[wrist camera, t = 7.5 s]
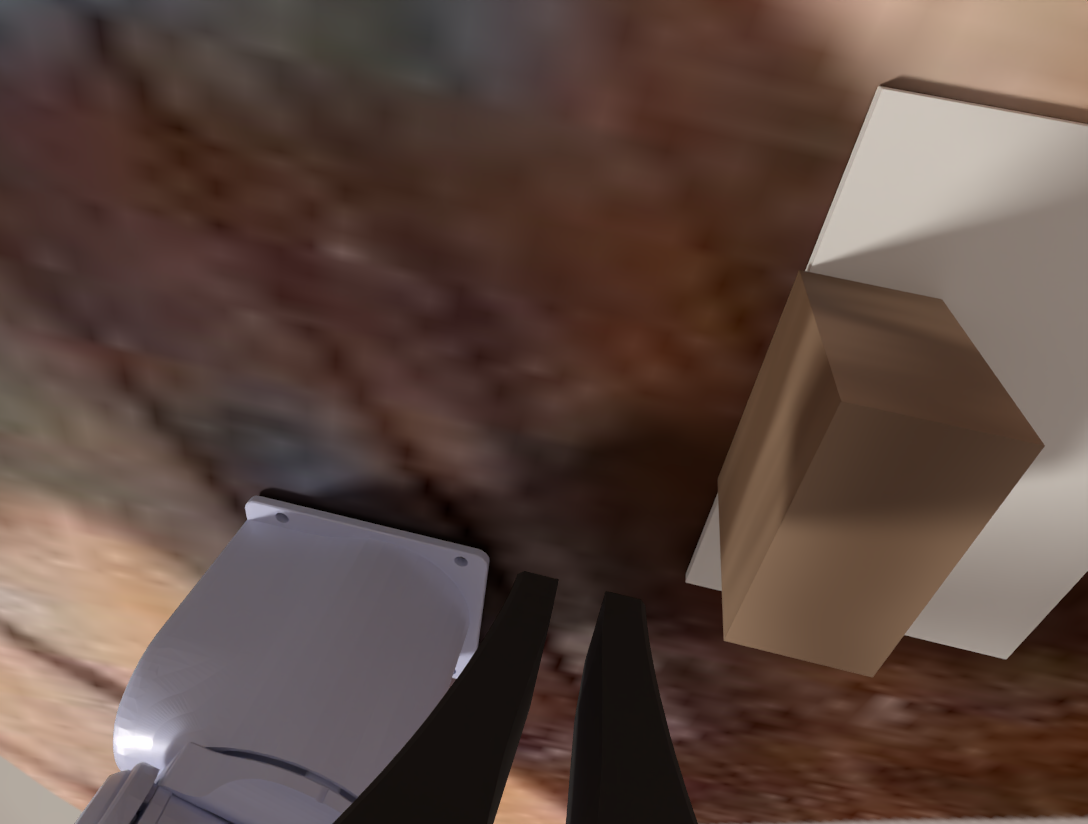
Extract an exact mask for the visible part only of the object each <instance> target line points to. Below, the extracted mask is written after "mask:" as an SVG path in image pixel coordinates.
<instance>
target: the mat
mask: <svg viewBox="0 0 1088 824" xmlns="http://www.w3.org/2000/svg"><path fill="white" fill-rule="evenodd" d="M805 271H807V272H812V273H817V274H822V275H826V276H831V277H836V278H841V279H846V280H851V281H856V282H860V283H865V284H870V285H875V286H880V287H885V288H890V289H895V290H899V291H904V292H909V293H914V294H919V295H924V296H929V297H933V298H938V299H942V300H943V301H944V303H945V304H946V305H947V307H948V308H949V310H950V311H951V313H952V314H953V315H954V317H955V318H956V320H957V321H958V323H959V324H960V325H961V327H962V328H963V330H964V331H965V333H966V334H967V335H968V337H969V338H970V340H971V341H972V342H973V344H974V345H975V347H976V348H977V350H978V351H979V352H980V354H981V355H982V357H983V358H984V360H985V361H986V362H987V364H988V365H989V367H990V368H991V370H992V371H993V372H994V374H995V375H996V377H997V378H998V379H999V381H1000V382H1001V384H1002V385H1003V387H1004V388H1005V389H1006V391H1007V392H1008V394H1009V395H1010V397H1011V398H1012V399H1013V401H1014V402H1015V404H1016V405H1017V407H1018V408H1019V409H1020V411H1021V412H1022V414H1023V415H1024V416H1025V418H1026V419H1027V421H1028V422H1029V424H1030V425H1031V426H1032V428H1033V429H1034V431H1035V432H1036V434H1037V435H1038V436H1039V438H1040V439H1041V441H1042V442H1043V443H1044V445H1045V447H1044V448H1043V449H1042V451H1041V452H1040V453H1039V455H1038V456H1037V457H1036V459H1035V460H1034V461H1033V463H1032V464H1031V465H1030V467H1029V468H1028V469H1027V471H1026V472H1025V473H1024V475H1023V476H1022V477H1021V479H1020V480H1019V481H1018V483H1017V484H1016V485H1015V487H1014V488H1013V489H1012V491H1011V492H1010V494H1009V495H1008V496H1007V498H1006V499H1005V500H1004V502H1003V503H1002V504H1001V506H1000V507H999V508H998V510H997V511H996V512H995V514H994V515H993V516H992V518H991V519H990V520H989V522H988V523H987V524H986V526H985V527H984V528H983V530H982V531H981V532H980V534H979V535H978V536H977V538H976V539H975V541H974V542H973V543H972V545H971V546H970V547H969V549H968V550H967V551H966V553H965V554H964V555H963V557H962V558H961V559H960V561H959V562H958V563H957V565H956V566H955V567H954V569H953V570H952V571H951V573H950V574H949V575H948V577H947V578H946V579H945V581H944V582H943V584H942V585H941V586H940V588H939V589H938V590H937V592H936V593H935V594H934V596H933V597H932V598H931V600H930V601H929V602H928V604H927V605H926V606H925V608H924V609H923V610H922V612H921V613H920V614H919V616H918V617H917V618H916V620H915V621H914V622H913V624H912V625H911V626H910V628H909V629H908V631H907V632H906V633H905V635H906V636H910V637H915V638H919V639H923V640H927V641H931V642H935V643H940V644H944V645H948V646H952V647H956V648H960V649H965V650H969V651H973V652H977V653H981V654H985V655H989V656H994V657H998V658H1002V659H1007V658H1008V657H1009V656H1010V655H1011V654H1012V653H1013V652H1014V650H1015V649H1016V648H1017V647H1018V646H1019V645H1020V644H1021V643H1022V642H1023V641H1024V640H1025V639H1026V637H1027V636H1028V635H1029V634H1030V633H1031V632H1032V631H1033V630H1034V629H1035V628H1036V627H1037V625H1038V624H1039V623H1040V622H1041V621H1042V620H1043V619H1044V618H1045V617H1046V616H1047V615H1048V613H1049V612H1050V611H1051V610H1052V609H1053V608H1054V607H1055V606H1056V605H1057V604H1058V603H1059V602H1060V600H1061V599H1062V598H1063V597H1064V596H1065V595H1066V594H1067V593H1068V592H1069V591H1070V590H1071V588H1072V587H1073V586H1074V585H1075V584H1076V583H1077V582H1078V581H1079V580H1080V579H1081V578H1082V577H1083V575H1084V574H1085V573H1086V572H1087V571H1088V124H1085V123H1079V122H1074V121H1068V120H1063V119H1058V118H1052V117H1047V116H1041V115H1036V114H1030V113H1025V112H1019V111H1014V110H1008V109H1003V108H997V107H992V106H987V105H981V104H976V103H970V102H965V101H959V100H954V99H948V98H943V97H937V96H932V95H926V94H921V93H916V92H910V91H905V90H899V89H894V88H888V87H883V86H878V88H877V90H876V93H875V96H874V98H873V101H872V103H871V106H870V108H869V111H868V113H867V116H866V118H865V121H864V123H863V126H862V128H861V131H860V134H859V136H858V139H857V141H856V144H855V146H854V149H853V151H852V154H851V156H850V159H849V161H848V164H847V166H846V169H845V172H844V174H843V177H842V179H841V182H840V184H839V187H838V189H837V192H836V194H835V197H834V199H833V202H832V204H831V207H830V210H829V212H828V215H827V217H826V220H825V222H824V225H823V227H822V230H821V232H820V235H819V237H818V240H817V242H816V245H815V247H814V250H813V253H812V255H811V258H810V260H809V263H808V265H807V268H806V270H805ZM685 582H686V583H690V584H694V585H698V586H702V587H707V588H711V589H715V590H719V591H722V582H721V557H720V531H719V505H718V493H717V496H716V498H715V501H714V503H713V506H712V508H711V511H710V513H709V516H708V518H707V521H706V524H705V526H704V529H703V531H702V534H701V536H700V539H699V541H698V544H697V546H696V549H695V551H694V554H693V556H692V559H691V562H690V564H689V567H688V569H687V572H686V581H685Z"/></svg>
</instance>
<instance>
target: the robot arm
mask: <svg viewBox="0 0 1088 824" xmlns="http://www.w3.org/2000/svg"><path fill="white" fill-rule="evenodd" d="M245 509H246V515H247V521H246V522H245V523H244V524H243V526H242V527H241V528H240V529H239V531H238V532H237V533H236V535H235V536H234V537H233V538H232V540H231V541H230V542H229V543H228V545H227V546H226V547H225V548H224V550H223V551H222V552H221V553H220V555H219V556H218V557H217V559H216V560H215V561H214V562H213V564H212V565H211V566H210V567H209V569H208V570H207V571H206V572H205V574H204V575H203V576H202V578H201V579H200V580H199V581H198V583H197V584H196V585H195V586H194V588H193V589H192V590H191V591H190V593H189V594H188V595H187V596H186V598H185V599H184V600H183V602H182V603H181V604H180V605H179V607H178V608H177V609H176V610H175V612H174V613H173V614H172V615H171V617H170V618H169V619H168V621H167V622H166V623H165V624H164V626H163V627H162V628H161V629H160V631H159V632H158V633H157V634H156V636H155V637H154V639H153V640H152V642H151V643H150V644H149V646H148V647H147V649H146V651H145V652H144V654H143V656H142V657H141V659H140V661H139V662H138V664H137V666H136V668H135V670H134V672H133V674H132V676H131V678H130V680H129V683H128V685H127V687H126V690H125V692H124V694H123V697H122V699H121V702H120V705H119V708H118V712H117V715H116V720H115V725H114V733H113V751H114V758H115V761H116V764H117V766H118V768H119V769H120V771H121V772H118V773H115V774H112V775H110V776H109V777H108V778H107V779H106V781H105V782H104V783H103V785H102V786H101V787H100V789H99V790H98V791H97V793H96V794H95V796H94V797H93V798H92V800H91V801H90V802H89V804H88V805H87V807H86V808H85V809H84V811H83V812H82V814H81V815H80V816H79V818H78V819H77V820H76V822H75V823H74V824H493V823H494V819H495V816H496V813H497V810H498V807H499V804H500V800H501V797H502V794H503V791H504V788H505V785H506V781H507V778H508V775H509V772H510V769H511V766H512V762H513V759H514V756H515V753H516V750H517V747H518V743H519V740H520V737H521V734H522V731H523V728H524V724H525V721H526V718H527V715H528V712H529V709H530V705H531V700H532V696H533V692H534V687H535V683H536V679H537V674H538V670H539V666H540V661H541V657H542V652H543V648H544V644H545V639H546V635H547V631H548V626H549V622H550V618H551V613H552V609H553V604H554V599H555V595H556V590H557V586H558V581H559V580H558V579H554V578H550V577H546V576H542V575H538V574H534V573H530V572H526V571H524V572H522V573H519V574H518V575H517V577H516V580H515V582H514V585H513V587H512V589H511V591H510V593H509V595H508V598H507V600H506V602H505V603H504V605H503V607H502V609H501V611H500V613H499V614H498V616H497V618H496V620H495V621H494V623H493V625H492V626H491V628H490V630H489V631H488V633H487V635H486V636H485V638H484V639H483V641H482V642H481V644H480V645H479V647H478V643H479V635H480V628H481V621H482V613H483V606H484V598H485V591H486V584H487V576H488V569H489V557H488V555H487V554H486V553H485V552H484V551H482V550H480V549H477V548H473V547H469V546H465V545H460V544H456V543H452V542H448V541H444V540H440V539H436V538H432V537H427V536H423V535H419V534H415V533H411V532H407V531H403V530H399V529H394V528H390V527H386V526H382V525H378V524H374V523H370V522H365V521H361V520H357V519H353V518H349V517H345V516H341V515H337V514H332V513H328V512H324V511H320V510H316V509H312V508H308V507H304V506H299V505H295V504H291V503H287V502H283V501H279V500H275V499H270V498H266V497H262V496H253V497H252V498H251V499H250V500H249V501H248V502H247V504H246V506H245ZM461 557H463V558H465V559H463V558H461ZM452 678H456V681H455V682H454V683H453V685H452V686H451V687H450V689H449V686H450V683H451V680H452ZM448 689H449V690H448ZM566 824H698V823H697V820H696V817H695V814H694V811H693V808H692V805H691V802H690V799H689V796H688V793H687V790H686V787H685V784H684V781H683V777H682V774H681V771H680V768H679V764H678V761H677V758H676V754H675V751H674V747H673V744H672V740H671V737H670V733H669V729H668V725H667V721H666V717H665V713H664V710H663V706H662V702H661V698H660V693H659V689H658V684H657V680H656V675H655V670H654V665H653V660H652V654H651V648H650V643H649V636H648V628H647V620H646V607H645V604H644V603H643V602H642V600H641V599H636V598H632V597H628V596H624V595H620V594H616V593H612V592H608V591H606V592H605V596H604V599H603V603H602V606H601V609H600V613H599V616H598V619H597V623H596V626H595V629H594V633H593V636H592V640H591V643H590V646H589V650H588V653H587V656H586V660H585V665H584V670H583V676H582V681H581V687H580V692H579V698H578V703H577V709H576V715H575V722H574V733H573V745H572V757H571V768H570V781H569V793H568V805H567V817H566Z"/></svg>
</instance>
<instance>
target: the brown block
mask: <svg viewBox="0 0 1088 824" xmlns="http://www.w3.org/2000/svg"><path fill="white" fill-rule="evenodd" d="M1044 447H1045V445H1044V443H1043V442H1042V441H1041V439H1040V438H1039V436H1038V435H1037V434H1036V432H1035V431H1034V429H1033V428H1032V426H1031V425H1030V424H1029V422H1028V421H1027V419H1026V418H1025V416H1024V415H1023V414H1022V412H1021V411H1020V409H1019V408H1018V407H1017V405H1016V404H1015V402H1014V401H1013V399H1012V398H1011V397H1010V395H1009V394H1008V392H1007V391H1006V389H1005V388H1004V387H1003V385H1002V384H1001V382H1000V381H999V379H998V378H997V377H996V375H995V374H994V372H993V371H992V370H991V368H990V367H989V365H988V364H987V362H986V361H985V360H984V358H983V357H982V355H981V354H980V352H979V351H978V350H977V348H976V347H975V345H974V344H973V342H972V341H971V340H970V338H969V337H968V335H967V334H966V333H965V331H964V330H963V328H962V327H961V325H960V324H959V323H958V321H957V320H956V318H955V317H954V315H953V314H952V313H951V311H950V310H949V308H948V307H947V305H946V304H945V303H944V301H943V300H942V299H938V298H933V297H929V296H924V295H919V294H914V293H909V292H904V291H899V290H895V289H890V288H885V287H880V286H875V285H870V284H865V283H860V282H856V281H851V280H846V279H841V278H836V277H831V276H826V275H822V274H817V273H812V272H807V271H802V270H799V272H798V274H797V277H796V279H795V282H794V285H793V287H792V290H791V292H790V295H789V297H788V300H787V303H786V305H785V308H784V310H783V313H782V315H781V318H780V320H779V323H778V326H777V328H776V331H775V333H774V336H773V338H772V341H771V343H770V346H769V349H768V351H767V354H766V356H765V359H764V361H763V364H762V367H761V369H760V372H759V374H758V377H757V379H756V382H755V384H754V387H753V390H752V392H751V395H750V397H749V400H748V402H747V405H746V407H745V410H744V413H743V415H742V418H741V420H740V423H739V425H738V428H737V430H736V433H735V436H734V438H733V441H732V443H731V446H730V448H729V451H728V454H727V456H726V459H725V461H724V464H723V466H722V469H721V471H720V474H719V477H718V505H719V531H720V557H721V582H722V608H723V634H724V641H727V642H731V643H735V644H739V645H743V646H747V647H751V648H756V649H760V650H764V651H768V652H772V653H776V654H780V655H784V656H788V657H792V658H796V659H800V660H804V661H808V662H812V663H816V664H820V665H824V666H828V667H833V668H837V669H841V670H845V671H849V672H853V673H857V674H861V675H865V676H869V677H873V676H874V675H875V673H876V672H877V671H878V669H879V668H880V667H881V665H882V664H883V663H884V661H885V660H886V659H887V657H888V656H889V655H890V653H891V652H892V651H893V649H894V648H895V647H896V645H897V644H898V643H899V641H900V640H901V639H902V637H903V636H904V635H905V633H906V632H907V631H908V629H909V628H910V626H911V625H912V624H913V622H914V621H915V620H916V618H917V617H918V616H919V614H920V613H921V612H922V610H923V609H924V608H925V606H926V605H927V604H928V602H929V601H930V600H931V598H932V597H933V596H934V594H935V593H936V592H937V590H938V589H939V588H940V586H941V585H942V584H943V582H944V581H945V579H946V578H947V577H948V575H949V574H950V573H951V571H952V570H953V569H954V567H955V566H956V565H957V563H958V562H959V561H960V559H961V558H962V557H963V555H964V554H965V553H966V551H967V550H968V549H969V547H970V546H971V545H972V543H973V542H974V541H975V539H976V538H977V536H978V535H979V534H980V532H981V531H982V530H983V528H984V527H985V526H986V524H987V523H988V522H989V520H990V519H991V518H992V516H993V515H994V514H995V512H996V511H997V510H998V508H999V507H1000V506H1001V504H1002V503H1003V502H1004V500H1005V499H1006V498H1007V496H1008V495H1009V494H1010V492H1011V491H1012V489H1013V488H1014V487H1015V485H1016V484H1017V483H1018V481H1019V480H1020V479H1021V477H1022V476H1023V475H1024V473H1025V472H1026V471H1027V469H1028V468H1029V467H1030V465H1031V464H1032V463H1033V461H1034V460H1035V459H1036V457H1037V456H1038V455H1039V453H1040V452H1041V451H1042V449H1043V448H1044Z"/></svg>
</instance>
